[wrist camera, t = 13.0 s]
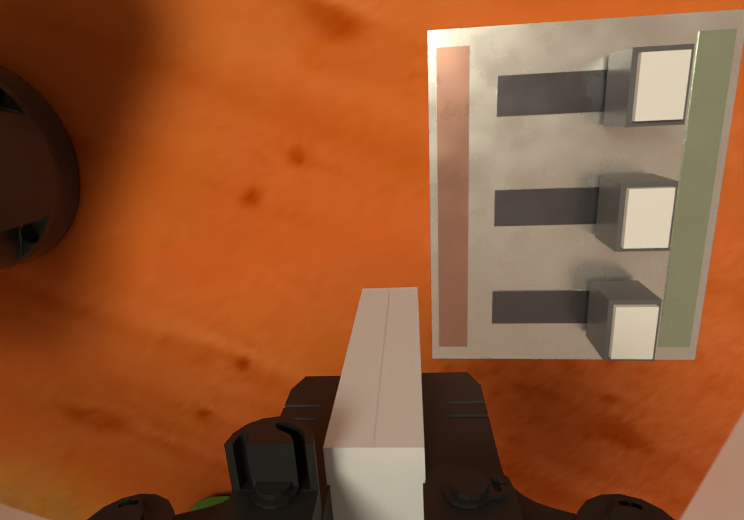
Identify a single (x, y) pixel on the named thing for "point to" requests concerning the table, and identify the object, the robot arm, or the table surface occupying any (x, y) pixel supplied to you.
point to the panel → (564, 181)
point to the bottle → (209, 502)
